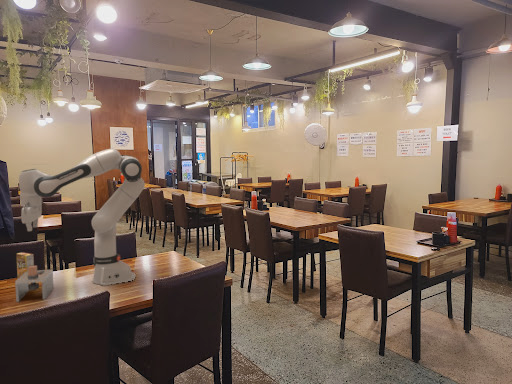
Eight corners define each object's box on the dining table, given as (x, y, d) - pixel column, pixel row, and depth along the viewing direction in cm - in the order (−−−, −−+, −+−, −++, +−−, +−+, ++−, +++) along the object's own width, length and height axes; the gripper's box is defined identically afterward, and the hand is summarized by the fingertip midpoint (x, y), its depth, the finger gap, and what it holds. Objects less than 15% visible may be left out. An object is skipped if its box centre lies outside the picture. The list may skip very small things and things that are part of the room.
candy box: (17, 281, 194) (15, 253, 192) (25, 278, 197) (23, 251, 196) (27, 283, 190) (25, 255, 188) (35, 280, 194) (33, 253, 192)
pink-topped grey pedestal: (40, 286, 175) (39, 264, 174) (37, 289, 171) (36, 267, 170) (30, 287, 174) (28, 265, 173) (27, 290, 170) (25, 268, 168)
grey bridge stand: (53, 288, 184) (52, 269, 183) (45, 299, 169) (44, 279, 168) (27, 290, 180) (26, 271, 179) (16, 302, 166) (15, 281, 165)
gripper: (32, 204, 167) (33, 233, 168) (43, 199, 186) (45, 224, 187) (16, 204, 165) (18, 233, 166) (29, 199, 184) (31, 225, 185)
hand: (32, 229), depth 177 cm, fingers open, 8 cm apart
